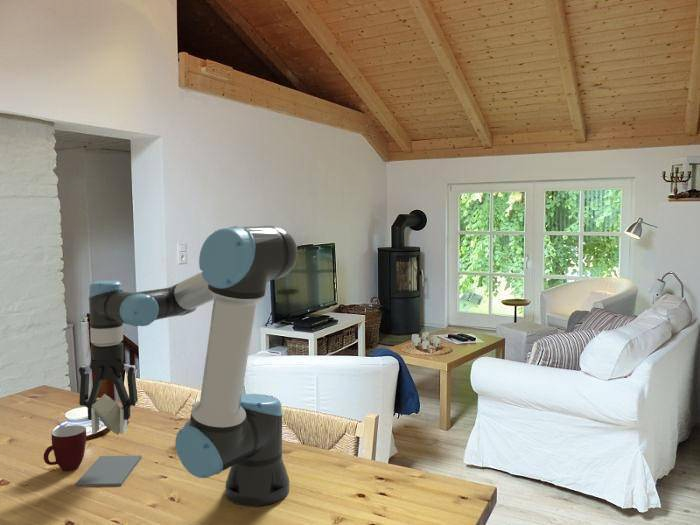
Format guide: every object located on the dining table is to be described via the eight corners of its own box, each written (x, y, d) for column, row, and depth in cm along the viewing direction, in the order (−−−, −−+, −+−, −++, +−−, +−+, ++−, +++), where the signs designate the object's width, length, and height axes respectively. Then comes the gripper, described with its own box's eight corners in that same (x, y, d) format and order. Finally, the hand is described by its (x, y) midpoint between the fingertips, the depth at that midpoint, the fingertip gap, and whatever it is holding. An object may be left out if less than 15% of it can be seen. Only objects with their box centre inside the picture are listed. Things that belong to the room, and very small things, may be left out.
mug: (57, 482, 143) (55, 442, 142) (36, 474, 147) (35, 436, 146) (94, 465, 153) (92, 428, 152) (73, 459, 156) (72, 423, 155)
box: (130, 422, 153) (118, 404, 145) (117, 435, 151) (105, 417, 142) (116, 412, 155) (104, 393, 146) (103, 424, 153) (90, 406, 144)
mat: (141, 457, 158) (141, 455, 157) (121, 485, 142) (120, 483, 142) (100, 458, 157) (100, 455, 157) (75, 486, 141) (74, 484, 141)
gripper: (150, 339, 150) (152, 425, 152) (74, 339, 149) (77, 426, 151) (141, 346, 142) (143, 437, 145) (61, 346, 141) (64, 437, 144)
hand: (109, 431), depth 148 cm, fingers closed on box, 6 cm apart
